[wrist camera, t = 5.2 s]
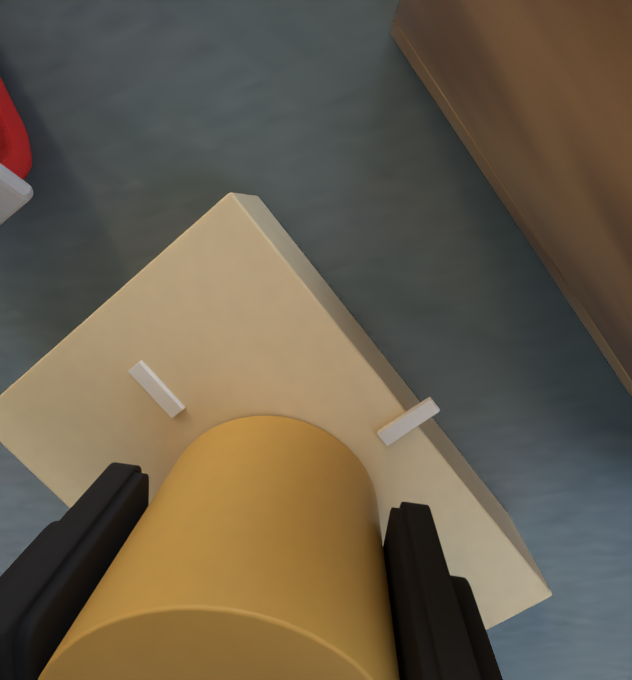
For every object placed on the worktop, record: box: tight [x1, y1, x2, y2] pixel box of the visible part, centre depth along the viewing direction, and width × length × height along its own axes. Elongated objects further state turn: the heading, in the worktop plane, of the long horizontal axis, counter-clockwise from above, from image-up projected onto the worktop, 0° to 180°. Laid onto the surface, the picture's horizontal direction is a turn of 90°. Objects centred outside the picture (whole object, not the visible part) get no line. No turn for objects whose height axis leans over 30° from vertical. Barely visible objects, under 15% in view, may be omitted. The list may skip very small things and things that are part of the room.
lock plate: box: [0, 192, 552, 630], centre depth 12 cm, size 12×9×3 cm
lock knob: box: [38, 415, 400, 680], centre depth 8 cm, size 5×5×5 cm
